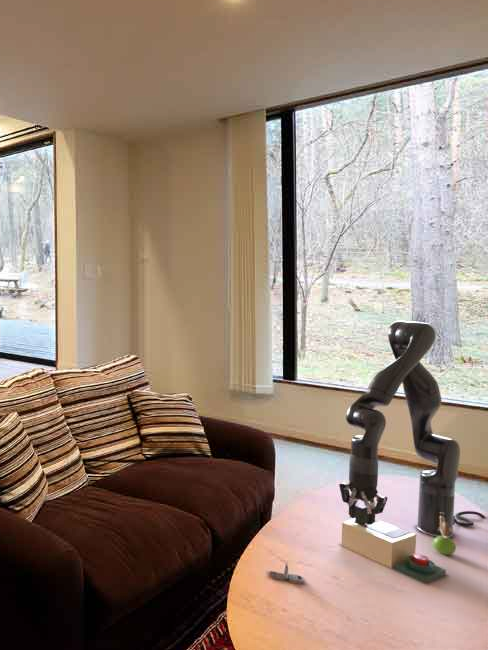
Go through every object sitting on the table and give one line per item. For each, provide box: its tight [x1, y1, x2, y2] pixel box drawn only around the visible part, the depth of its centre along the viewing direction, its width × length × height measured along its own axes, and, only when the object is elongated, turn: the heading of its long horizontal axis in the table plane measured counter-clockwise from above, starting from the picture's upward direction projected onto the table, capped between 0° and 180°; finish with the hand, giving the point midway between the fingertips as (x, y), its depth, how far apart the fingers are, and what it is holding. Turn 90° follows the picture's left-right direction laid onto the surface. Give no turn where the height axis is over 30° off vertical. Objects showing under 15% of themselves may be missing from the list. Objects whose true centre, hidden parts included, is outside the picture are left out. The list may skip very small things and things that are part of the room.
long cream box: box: [341, 518, 417, 569], centre depth 171 cm, size 12×15×8 cm
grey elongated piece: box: [269, 562, 304, 584], centre depth 157 cm, size 8×3×4 cm, turn 65°
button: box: [413, 553, 430, 565], centre depth 159 cm, size 4×4×2 cm
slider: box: [355, 504, 368, 525], centre depth 173 cm, size 3×2×6 cm, turn 113°
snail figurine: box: [432, 512, 457, 556], centre depth 170 cm, size 5×6×12 cm
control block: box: [394, 555, 447, 584], centre depth 159 cm, size 10×8×4 cm
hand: (361, 520), depth 173 cm, fingers open, 4 cm apart
